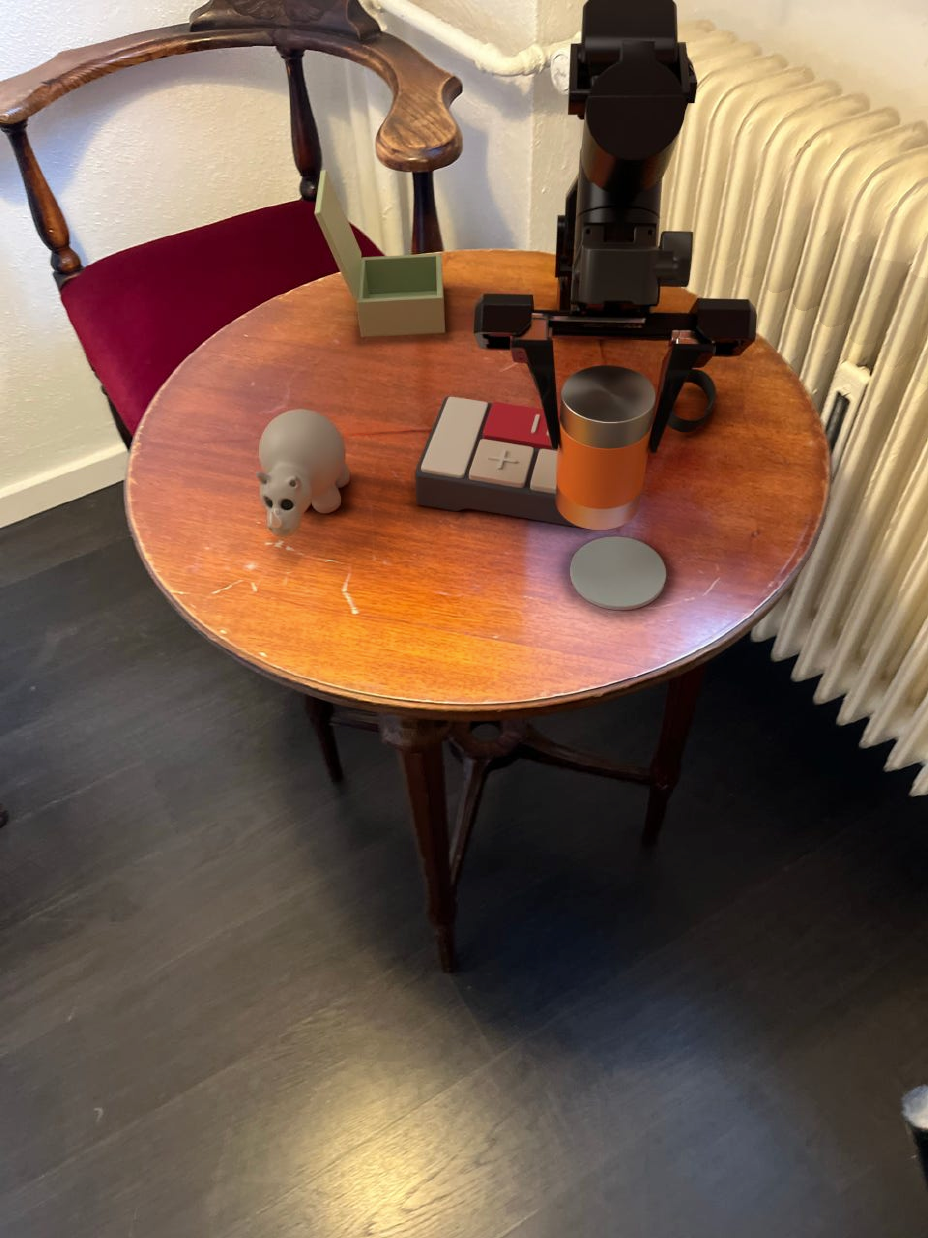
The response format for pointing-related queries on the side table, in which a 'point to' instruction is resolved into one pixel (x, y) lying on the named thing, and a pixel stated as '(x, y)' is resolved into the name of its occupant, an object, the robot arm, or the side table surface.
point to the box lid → (338, 233)
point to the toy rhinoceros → (300, 468)
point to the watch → (710, 390)
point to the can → (603, 445)
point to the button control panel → (489, 461)
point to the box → (401, 295)
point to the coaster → (618, 573)
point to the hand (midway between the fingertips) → (603, 451)
